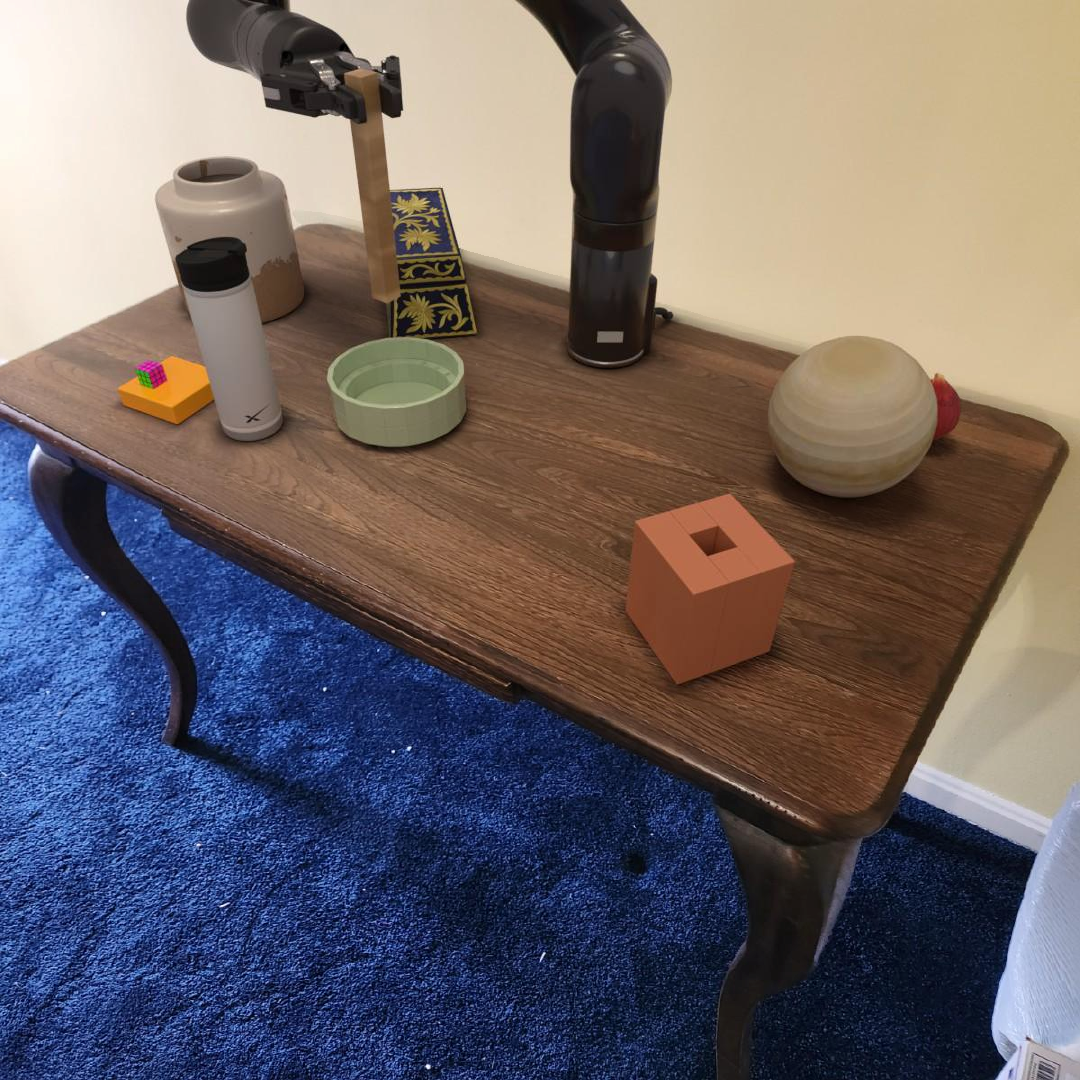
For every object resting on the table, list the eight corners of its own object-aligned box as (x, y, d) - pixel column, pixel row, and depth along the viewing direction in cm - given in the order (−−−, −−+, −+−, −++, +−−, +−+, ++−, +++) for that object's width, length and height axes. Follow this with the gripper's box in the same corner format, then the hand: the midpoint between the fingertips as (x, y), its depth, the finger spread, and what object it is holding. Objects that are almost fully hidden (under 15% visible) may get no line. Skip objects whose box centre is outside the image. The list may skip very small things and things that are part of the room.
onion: (950, 433, 92) (976, 367, 87) (944, 462, 88) (971, 395, 83) (894, 420, 94) (916, 355, 88) (886, 448, 90) (908, 381, 85)
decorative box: (390, 342, 105) (382, 272, 99) (379, 243, 127) (372, 181, 121) (477, 335, 107) (474, 266, 101) (452, 239, 129) (448, 177, 123)
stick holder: (712, 582, 75) (730, 492, 68) (769, 651, 69) (795, 561, 62) (624, 610, 72) (634, 520, 65) (676, 685, 66) (693, 594, 60)
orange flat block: (176, 372, 100) (166, 339, 97) (229, 389, 97) (220, 356, 94) (123, 405, 95) (110, 371, 92) (177, 425, 92) (166, 390, 89)
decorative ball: (943, 504, 83) (1000, 368, 73) (818, 547, 78) (861, 408, 68) (841, 424, 93) (878, 295, 83) (725, 458, 88) (750, 325, 78)
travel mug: (271, 446, 89) (226, 261, 76) (212, 438, 90) (158, 254, 77) (296, 413, 94) (257, 233, 80) (239, 406, 95) (192, 227, 81)
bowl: (442, 370, 101) (438, 327, 97) (485, 434, 91) (483, 389, 87) (321, 395, 96) (313, 352, 93) (353, 465, 87) (346, 420, 83)
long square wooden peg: (400, 296, 85) (378, 72, 71) (386, 303, 84) (360, 77, 70) (386, 290, 86) (360, 68, 72) (372, 298, 84) (343, 73, 71)
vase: (290, 328, 108) (263, 193, 97) (169, 326, 108) (127, 191, 97) (315, 275, 119) (293, 149, 108) (206, 273, 119) (172, 147, 108)
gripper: (217, 24, 76) (290, 68, 65) (362, 8, 82) (451, 46, 71) (236, 115, 81) (307, 170, 70) (371, 94, 87) (456, 141, 76)
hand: (379, 107), depth 71 cm, fingers closed on long square wooden peg, 2 cm apart
